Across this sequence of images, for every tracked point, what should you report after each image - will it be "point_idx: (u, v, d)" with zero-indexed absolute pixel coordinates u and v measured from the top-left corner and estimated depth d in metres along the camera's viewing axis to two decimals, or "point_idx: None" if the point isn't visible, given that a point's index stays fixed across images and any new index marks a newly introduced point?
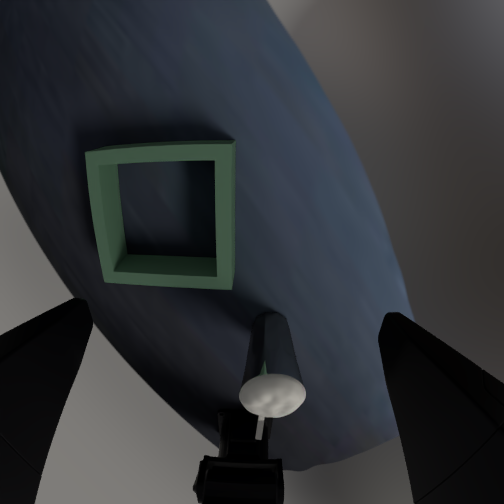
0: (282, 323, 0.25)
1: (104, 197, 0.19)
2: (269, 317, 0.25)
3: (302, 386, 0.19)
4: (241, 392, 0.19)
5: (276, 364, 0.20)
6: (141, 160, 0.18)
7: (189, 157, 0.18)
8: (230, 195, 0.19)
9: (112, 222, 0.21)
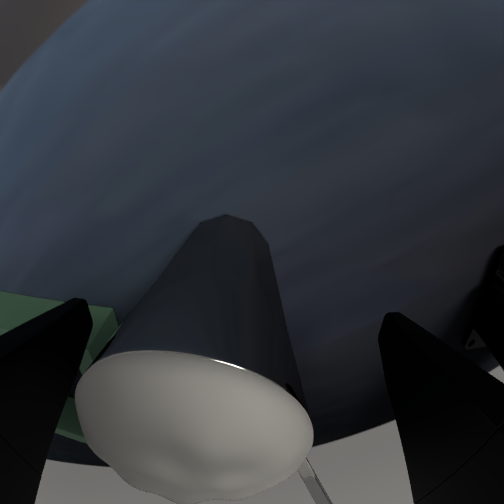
0: None
1: None
2: None
3: (101, 365, 0.04)
4: None
5: None
6: None
7: None
8: None
9: None
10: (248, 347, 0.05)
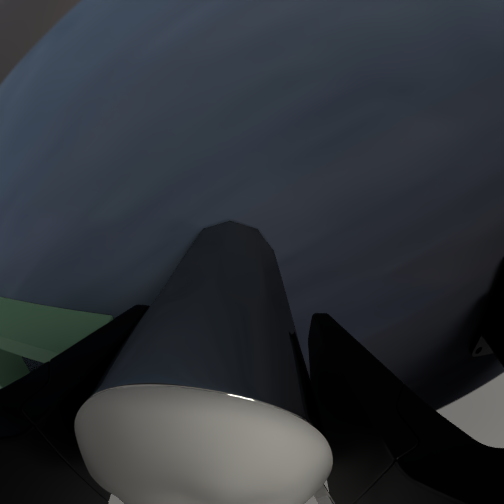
0: None
1: None
2: None
3: (102, 399, 0.03)
4: None
5: None
6: None
7: None
8: None
9: None
10: (265, 376, 0.04)
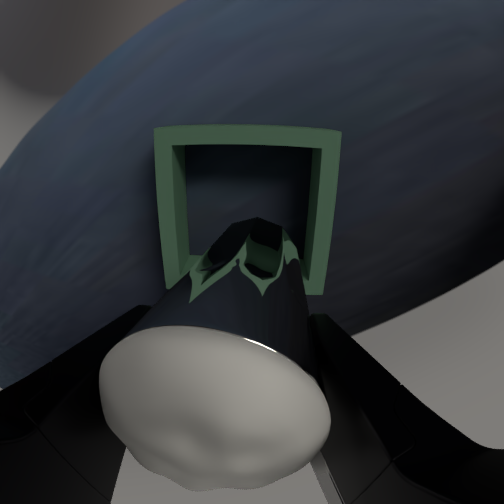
0: None
1: None
2: None
3: (132, 338, 0.04)
4: None
5: None
6: (173, 226, 0.17)
7: (169, 173, 0.16)
8: (212, 126, 0.15)
9: None
10: (276, 331, 0.05)
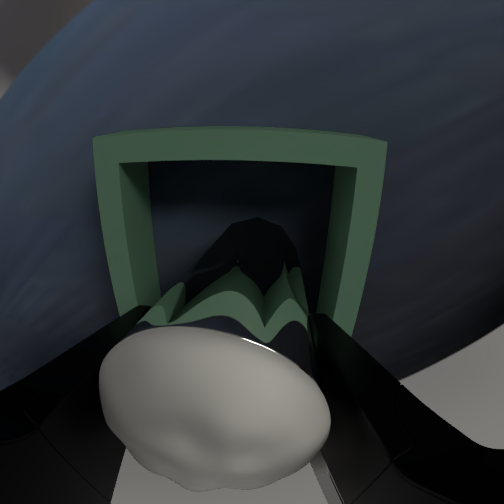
0: None
1: None
2: None
3: (132, 339, 0.04)
4: None
5: None
6: (130, 283, 0.11)
7: (117, 206, 0.10)
8: (179, 131, 0.09)
9: None
10: (276, 332, 0.05)
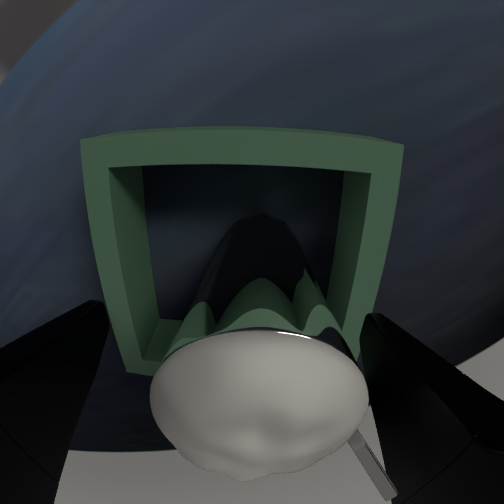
0: (223, 242, 0.11)
1: None
2: None
3: (196, 347, 0.05)
4: None
5: None
6: (124, 296, 0.11)
7: (107, 214, 0.09)
8: (173, 132, 0.08)
9: None
10: (323, 327, 0.05)
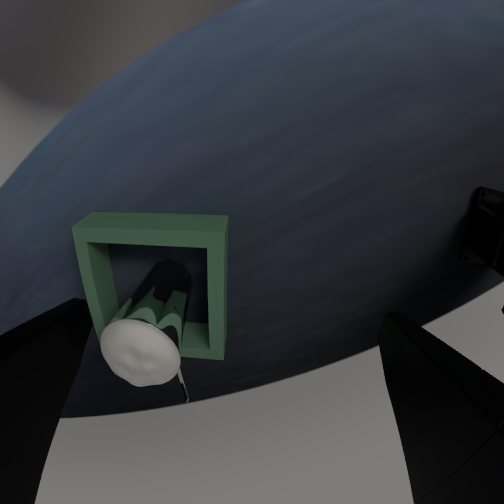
0: None
1: None
2: None
3: (112, 323, 0.14)
4: None
5: None
6: (97, 303, 0.20)
7: (87, 263, 0.18)
8: (114, 228, 0.17)
9: None
10: (157, 320, 0.15)
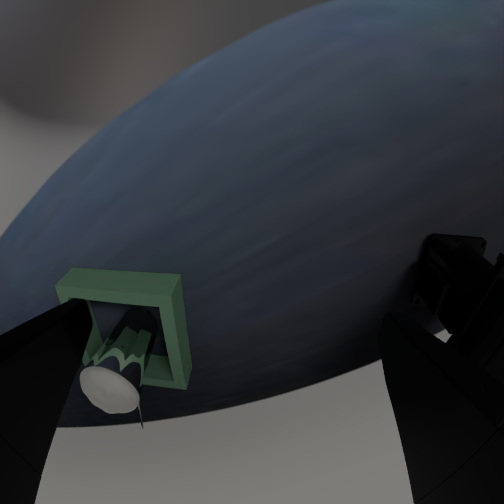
0: None
1: None
2: None
3: (86, 369, 0.17)
4: None
5: None
6: None
7: None
8: (86, 289, 0.20)
9: None
10: (118, 367, 0.18)
